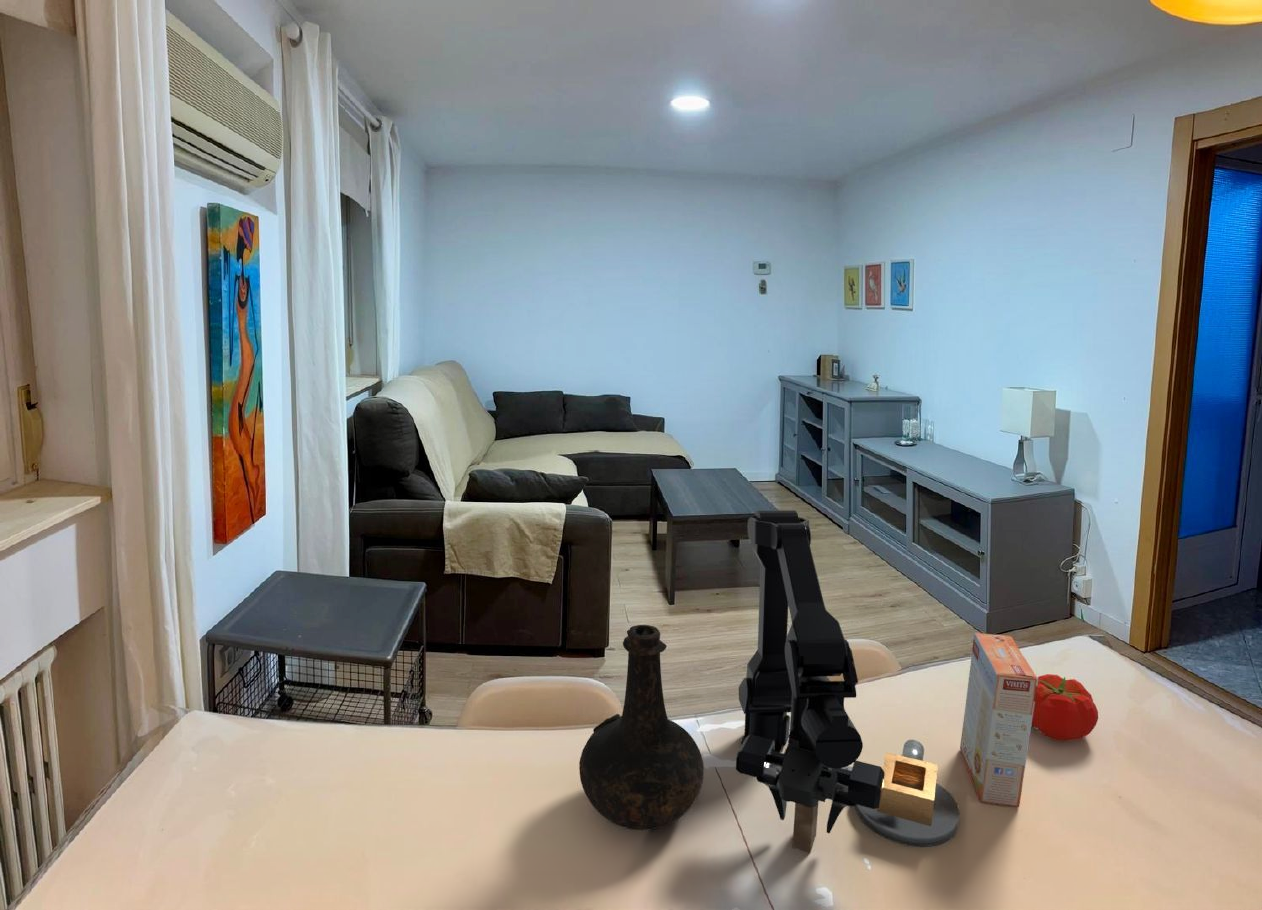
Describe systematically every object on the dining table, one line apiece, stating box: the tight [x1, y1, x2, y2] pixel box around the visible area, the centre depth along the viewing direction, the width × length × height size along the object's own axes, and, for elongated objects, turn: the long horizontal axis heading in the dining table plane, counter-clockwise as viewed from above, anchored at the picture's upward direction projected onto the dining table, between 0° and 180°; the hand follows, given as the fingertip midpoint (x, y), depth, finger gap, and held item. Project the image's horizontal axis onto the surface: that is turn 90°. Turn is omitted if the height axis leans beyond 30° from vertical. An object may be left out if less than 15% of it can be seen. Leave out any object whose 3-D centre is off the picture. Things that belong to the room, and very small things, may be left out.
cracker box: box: [959, 632, 1038, 808], centre depth 118 cm, size 14×6×21 cm, turn 168°
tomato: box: [1031, 674, 1099, 742], centre depth 132 cm, size 13×12×8 cm
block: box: [792, 801, 820, 854], centre depth 105 cm, size 2×4×8 cm, turn 156°
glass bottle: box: [578, 624, 705, 831], centre depth 109 cm, size 18×18×28 cm
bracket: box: [854, 739, 960, 848], centre depth 113 cm, size 14×17×6 cm
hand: (805, 824), depth 105 cm, fingers open, 6 cm apart
